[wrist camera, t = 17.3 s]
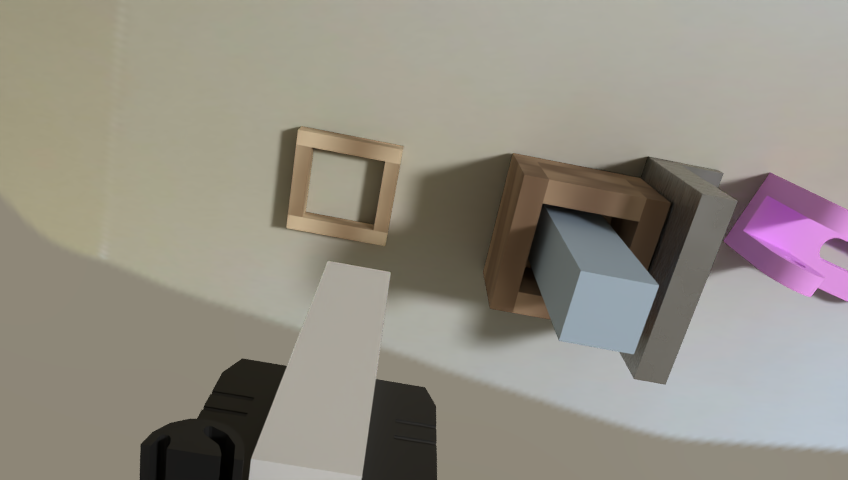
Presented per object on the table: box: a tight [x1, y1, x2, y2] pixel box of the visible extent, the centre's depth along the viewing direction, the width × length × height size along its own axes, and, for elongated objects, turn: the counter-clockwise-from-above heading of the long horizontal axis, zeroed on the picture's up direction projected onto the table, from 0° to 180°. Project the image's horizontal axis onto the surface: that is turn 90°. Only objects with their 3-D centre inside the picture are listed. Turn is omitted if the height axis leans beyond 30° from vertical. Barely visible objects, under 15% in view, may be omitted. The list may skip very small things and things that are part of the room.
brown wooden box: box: [483, 153, 671, 320], centre depth 40 cm, size 9×9×6 cm
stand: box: [286, 126, 403, 246], centre depth 42 cm, size 7×7×1 cm
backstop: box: [620, 157, 738, 384], centre depth 39 cm, size 5×12×9 cm, turn 169°
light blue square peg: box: [528, 203, 659, 354], centre depth 36 cm, size 4×4×12 cm
